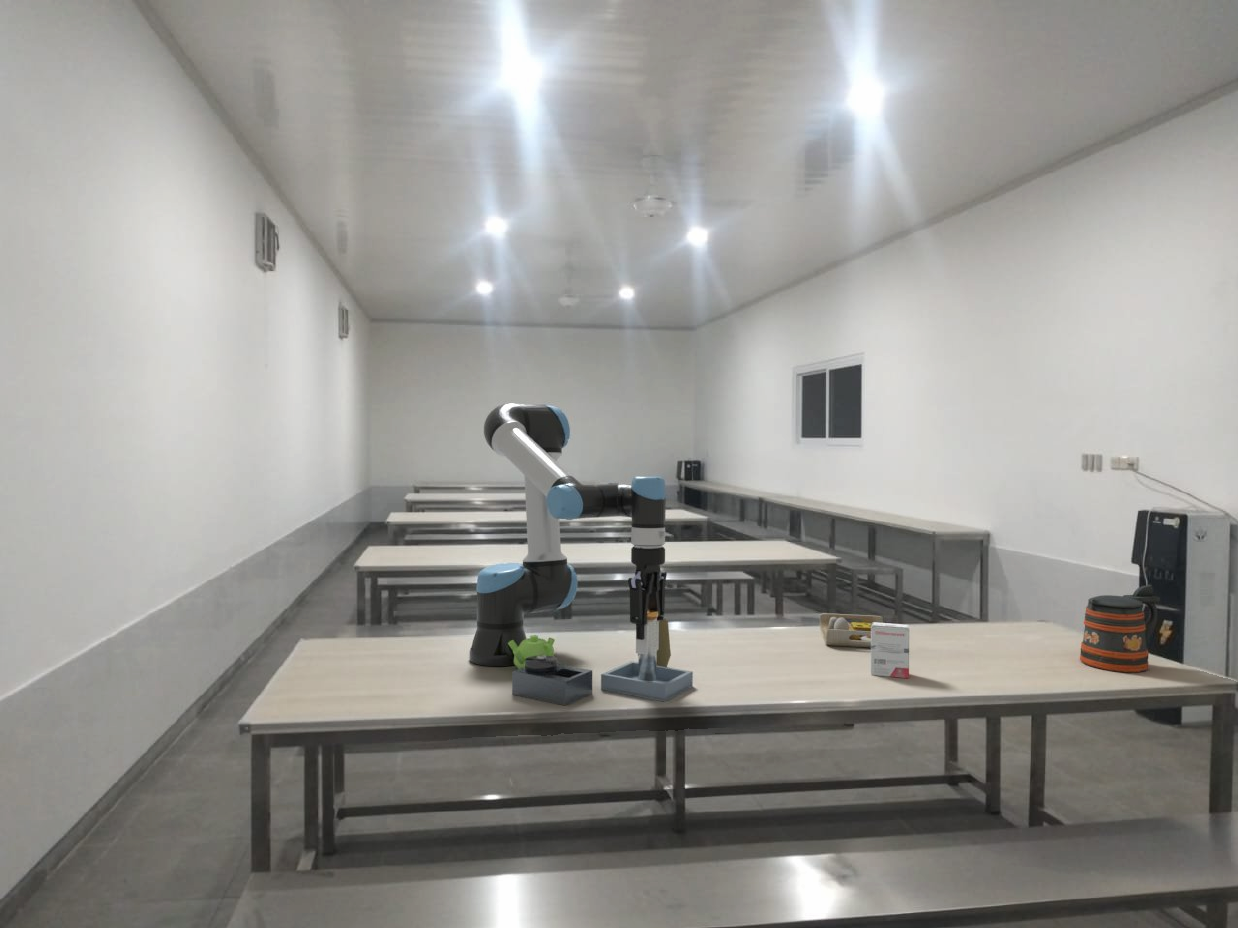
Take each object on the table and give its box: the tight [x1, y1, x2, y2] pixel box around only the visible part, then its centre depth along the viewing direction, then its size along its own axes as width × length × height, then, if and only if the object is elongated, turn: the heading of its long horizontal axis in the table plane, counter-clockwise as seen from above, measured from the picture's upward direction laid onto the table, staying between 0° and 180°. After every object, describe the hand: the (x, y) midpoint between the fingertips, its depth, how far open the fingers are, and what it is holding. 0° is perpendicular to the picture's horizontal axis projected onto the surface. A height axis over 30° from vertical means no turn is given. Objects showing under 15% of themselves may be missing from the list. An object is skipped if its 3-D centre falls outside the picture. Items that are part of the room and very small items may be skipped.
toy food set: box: [819, 612, 884, 649], centre depth 225 cm, size 25×18×8 cm
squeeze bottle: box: [637, 614, 672, 667], centre depth 192 cm, size 8×8×18 cm
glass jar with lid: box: [637, 609, 658, 681], centre depth 176 cm, size 5×5×15 cm
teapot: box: [508, 634, 556, 669], centre depth 189 cm, size 11×12×8 cm
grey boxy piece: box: [511, 655, 593, 706], centre depth 172 cm, size 14×10×8 cm
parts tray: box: [600, 660, 694, 702], centre depth 177 cm, size 16×13×3 cm
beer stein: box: [1079, 584, 1161, 674], centre depth 199 cm, size 19×15×20 cm
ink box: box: [870, 622, 910, 679], centre depth 189 cm, size 9×5×12 cm, turn 71°
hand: (647, 650), depth 176 cm, fingers closed on glass jar with lid, 4 cm apart
